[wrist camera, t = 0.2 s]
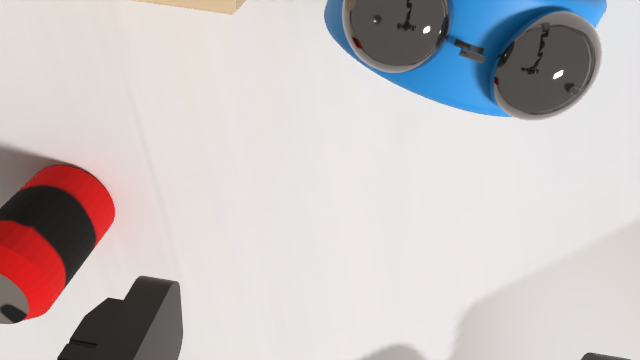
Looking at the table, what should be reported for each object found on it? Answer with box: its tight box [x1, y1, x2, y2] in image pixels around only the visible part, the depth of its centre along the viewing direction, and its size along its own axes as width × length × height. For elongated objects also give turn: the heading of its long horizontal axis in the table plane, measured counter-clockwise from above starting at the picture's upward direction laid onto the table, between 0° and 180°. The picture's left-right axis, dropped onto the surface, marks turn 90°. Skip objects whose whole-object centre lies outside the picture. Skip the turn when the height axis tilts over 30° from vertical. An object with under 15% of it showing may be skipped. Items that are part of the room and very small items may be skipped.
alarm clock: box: [324, 0, 607, 120], centre depth 28 cm, size 13×6×15 cm, turn 73°
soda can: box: [0, 165, 115, 324], centre depth 43 cm, size 8×8×12 cm
